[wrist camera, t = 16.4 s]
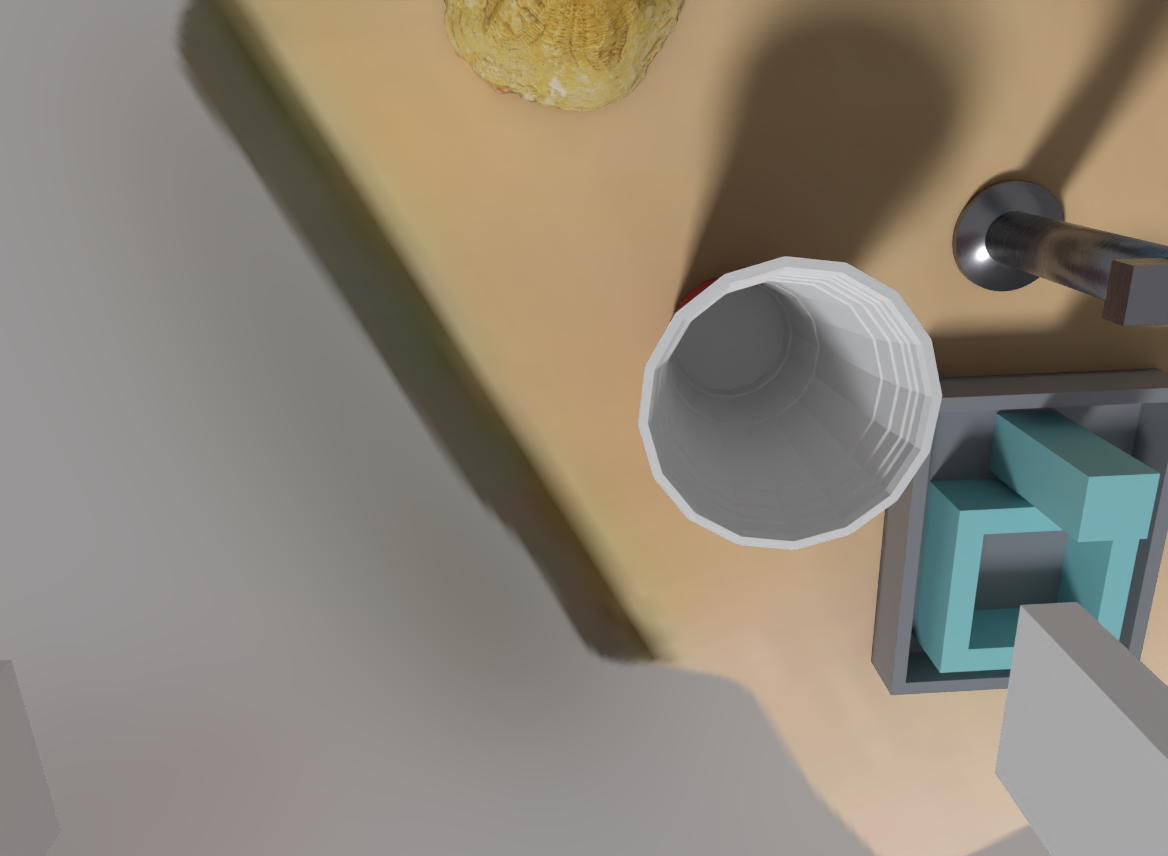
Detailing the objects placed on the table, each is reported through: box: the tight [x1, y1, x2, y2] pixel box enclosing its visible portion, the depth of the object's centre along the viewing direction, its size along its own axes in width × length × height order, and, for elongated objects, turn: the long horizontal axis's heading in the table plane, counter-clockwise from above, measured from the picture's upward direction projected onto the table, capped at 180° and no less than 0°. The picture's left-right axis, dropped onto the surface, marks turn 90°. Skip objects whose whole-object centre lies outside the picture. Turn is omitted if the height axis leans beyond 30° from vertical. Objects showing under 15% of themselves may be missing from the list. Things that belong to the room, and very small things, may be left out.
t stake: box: [952, 180, 1168, 326], centre depth 36 cm, size 5×5×13 cm
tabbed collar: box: [913, 411, 1160, 673], centre depth 43 cm, size 12×9×8 cm
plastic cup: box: [638, 256, 942, 550], centre depth 38 cm, size 11×11×12 cm
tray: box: [871, 369, 1168, 695], centre depth 46 cm, size 16×13×3 cm
